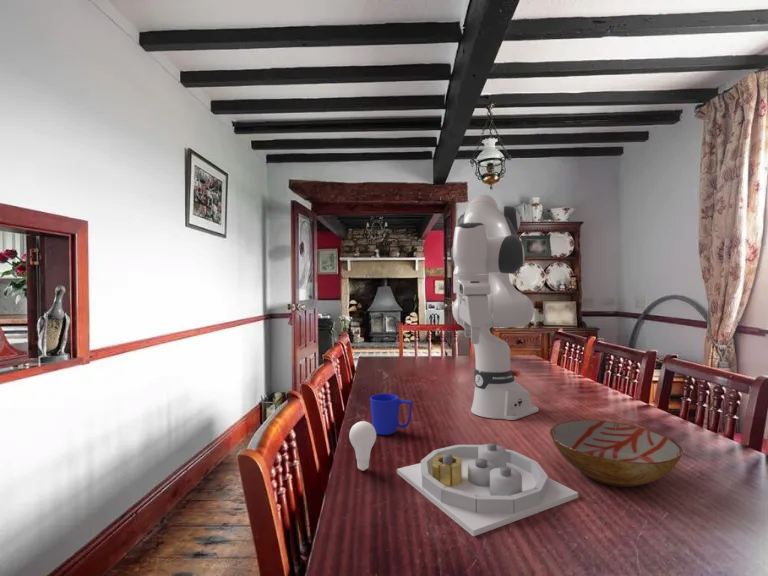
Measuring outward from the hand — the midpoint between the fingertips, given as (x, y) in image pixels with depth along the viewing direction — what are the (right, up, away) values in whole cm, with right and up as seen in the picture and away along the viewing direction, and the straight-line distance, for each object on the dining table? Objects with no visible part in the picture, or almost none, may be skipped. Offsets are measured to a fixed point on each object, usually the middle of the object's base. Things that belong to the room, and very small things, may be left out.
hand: (471, 340), depth 103 cm
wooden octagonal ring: (-9, -27, -18) cm, 34 cm away
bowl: (+27, -28, -15) cm, 42 cm away
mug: (-20, -28, +12) cm, 37 cm away
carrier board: (-2, -28, -19) cm, 34 cm away
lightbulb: (-27, -28, -11) cm, 41 cm away
